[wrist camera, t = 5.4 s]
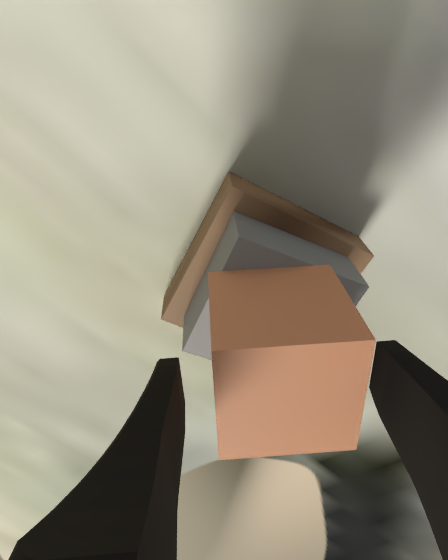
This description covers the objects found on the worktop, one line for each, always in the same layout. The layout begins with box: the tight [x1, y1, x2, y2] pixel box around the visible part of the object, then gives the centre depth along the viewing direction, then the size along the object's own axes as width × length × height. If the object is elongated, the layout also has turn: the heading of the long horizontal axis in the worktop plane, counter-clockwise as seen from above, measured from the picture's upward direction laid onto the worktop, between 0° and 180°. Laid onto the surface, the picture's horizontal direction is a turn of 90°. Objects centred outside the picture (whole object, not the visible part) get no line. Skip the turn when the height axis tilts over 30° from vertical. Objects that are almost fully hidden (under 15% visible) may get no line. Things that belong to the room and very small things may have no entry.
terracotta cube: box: [208, 265, 375, 460], centre depth 14 cm, size 4×4×4 cm
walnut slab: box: [161, 172, 374, 327], centre depth 20 cm, size 7×7×2 cm
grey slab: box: [182, 211, 369, 360], centre depth 17 cm, size 6×6×2 cm
